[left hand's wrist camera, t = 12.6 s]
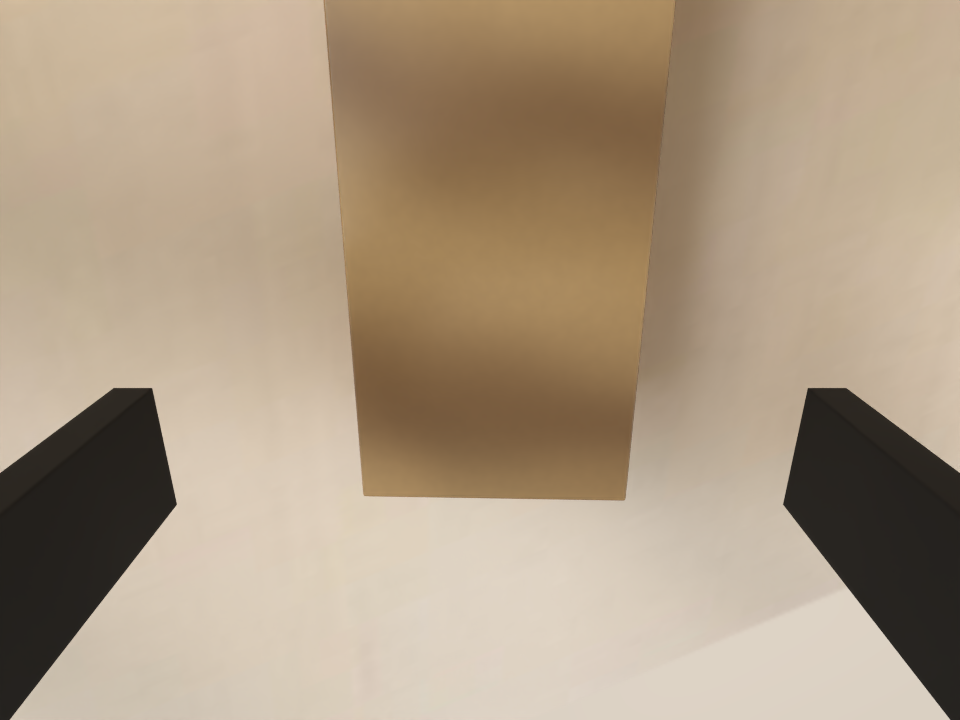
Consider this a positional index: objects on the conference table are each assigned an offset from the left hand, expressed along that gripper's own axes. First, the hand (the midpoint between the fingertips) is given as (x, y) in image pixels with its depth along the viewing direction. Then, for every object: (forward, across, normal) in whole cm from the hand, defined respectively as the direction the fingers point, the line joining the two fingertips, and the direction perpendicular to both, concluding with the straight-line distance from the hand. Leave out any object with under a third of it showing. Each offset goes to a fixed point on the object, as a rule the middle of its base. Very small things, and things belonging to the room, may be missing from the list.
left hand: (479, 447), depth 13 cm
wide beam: (+14, -1, -24) cm, 28 cm away
